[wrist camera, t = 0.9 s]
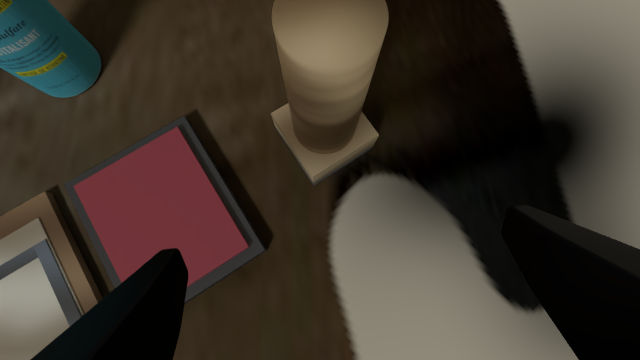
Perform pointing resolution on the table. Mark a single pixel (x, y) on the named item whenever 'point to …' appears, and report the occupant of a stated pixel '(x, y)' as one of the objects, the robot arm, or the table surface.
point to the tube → (45, 49)
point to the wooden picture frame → (39, 278)
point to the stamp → (327, 79)
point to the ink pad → (165, 209)
